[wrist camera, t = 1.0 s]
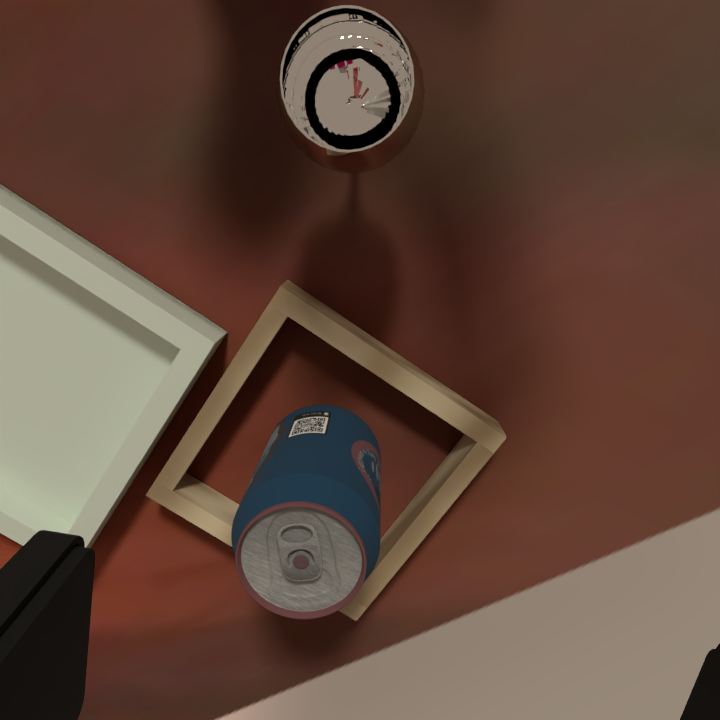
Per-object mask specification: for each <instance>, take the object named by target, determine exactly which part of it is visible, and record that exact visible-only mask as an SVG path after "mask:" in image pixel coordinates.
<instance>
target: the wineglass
mask: <svg viewBox="0 0 720 720" xmlns="http://www.w3.org/2000/svg"><path fill="white" fill-rule="evenodd" d="M424 92H425V90H424V82H423V74H422V70H421V67H420V63H419V60H418V57H417V55H416V53H415V51H414V49H413V47H412V45H411V43H410V42H409V40H408V39H407V37H406V36H405V35H404V34H403V33H402V32H401V31H400V30H399V29H398V27H397V26H396V25H395V24H394V23H392V22H391V21H390V20H388V19H387V18H386V17H384V16H383V15H381V14H379V13H377V12H375V11H372V10H370V9H367V8H364V7H360V6H353V5H341V6H335V7H331V8H328V9H325V10H322V11H320V12H318V13H316V14H315V15H313V16H311V17H310V18H309V19H308V20H306V21H305V22H304V23H303V24H302V25H301V26H300V27H299V28H298V29H297V31H296V32H295V33H294V34H293V36H292V37H291V39H290V41H289V42H288V44H287V45H286V48H285V50H284V52H283V56H282V59H281V63H280V66H279V70H278V77H277V99H278V105H279V111H280V115H281V118H282V120H283V123H284V125H285V128H286V130H287V132H288V134H289V136H290V137H291V139H292V140H293V142H294V143H295V144H296V146H297V147H298V148H299V149H300V150H301V151H302V152H303V153H304V154H305V155H306V156H307V157H308V158H309V159H311V160H312V161H314V162H315V163H317V164H318V165H320V166H322V167H324V168H327V169H329V170H332V171H336V172H340V173H350V174H354V173H364V172H368V171H372V170H375V169H377V168H380V167H382V166H384V165H385V164H387V163H389V162H390V161H392V160H393V159H394V158H395V157H397V156H398V155H399V154H400V153H401V152H402V151H403V150H404V148H405V147H406V146H407V145H408V144H409V142H410V141H411V139H412V137H413V135H414V134H415V132H416V130H417V127H418V125H419V122H420V119H421V116H422V111H423V105H424Z"/></svg>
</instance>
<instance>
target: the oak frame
mask: <svg viewBox="0 0 720 720" xmlns="http://www.w3.org/2000/svg"><path fill="white" fill-rule="evenodd" d="M288 317H290V318H291V319H293V320H294V321H296V322H297V323H299V324H300V325H302V326H303V327H305V328H306V329H308V330H309V331H311V332H312V333H314V334H315V335H317V336H318V337H320V338H321V339H323V340H324V341H326V342H327V343H329V344H330V345H332V346H333V347H335V348H336V349H338V350H339V351H341V352H342V353H344V354H345V355H347V356H348V357H350V358H351V359H353V360H354V361H356V362H357V363H359V364H360V365H362V366H363V367H365V368H366V369H368V370H369V371H371V372H372V373H374V374H375V375H377V376H378V377H380V378H381V379H383V380H384V381H386V382H387V383H389V384H390V385H392V386H393V387H395V388H396V389H398V390H399V391H401V392H402V393H404V394H406V395H407V396H409V397H410V398H412V399H413V400H415V401H416V402H418V403H419V404H421V405H422V406H424V407H425V408H427V409H428V410H430V411H431V412H433V413H434V414H436V415H437V416H439V417H440V418H442V419H443V420H445V421H446V422H448V423H449V424H451V425H452V426H454V427H455V428H457V429H458V430H460V431H461V432H463V433H464V435H463V436H462V438H461V439H460V440H459V441H458V443H457V444H456V445H455V446H454V448H453V449H452V450H451V451H450V453H449V454H448V455H447V456H446V458H445V459H444V460H443V462H442V463H441V464H440V465H439V467H438V468H437V469H436V470H435V472H434V473H433V474H432V475H431V477H430V478H429V479H428V480H427V482H426V483H425V484H424V485H423V487H422V488H421V489H420V490H419V492H418V493H417V494H416V496H415V497H414V498H413V499H412V501H411V502H410V503H409V504H408V506H407V507H406V508H405V509H404V511H403V512H402V513H401V514H400V516H399V517H398V518H397V519H396V521H395V522H394V523H393V524H392V526H391V527H390V528H389V529H388V531H387V532H386V533H385V535H384V536H383V537H382V538H381V540H380V551H379V556H378V560H377V562H376V565H375V567H374V569H373V571H372V572H371V574H370V576H369V577H368V578H367V579H366V581H365V582H364V583H363V584H362V586H361V588H360V590H359V592H358V593H357V594H356V596H355V597H354V598H353V599H352V600H351V601H350V602H349V603H348V604H347V605H346V606H344V607H343V608H342V609H340V610H338V611H340V612H342V613H343V614H345V615H347V616H348V617H350V618H352V619H353V620H355V621H357V620H358V619H359V617H360V616H361V615H362V614H363V613H364V611H365V610H366V609H367V608H368V606H369V605H370V604H371V603H372V602H373V600H374V599H375V598H376V597H377V595H378V594H379V593H380V592H381V591H382V589H383V588H384V587H385V586H386V584H387V583H388V582H389V581H390V580H391V578H392V577H393V576H394V575H395V573H396V572H397V571H398V570H399V569H400V567H401V566H402V565H403V564H404V562H405V561H406V560H407V559H408V558H409V556H410V555H411V554H412V553H413V551H414V550H415V549H416V548H417V547H418V545H419V544H420V543H421V542H422V540H423V539H424V538H425V537H426V536H427V534H428V533H429V532H430V531H431V529H432V528H433V527H434V526H435V525H436V523H437V522H438V521H439V520H440V519H441V517H442V516H443V515H444V514H445V512H446V511H447V510H448V509H449V508H450V506H451V505H452V504H453V503H454V501H455V500H456V499H457V498H458V497H459V495H460V494H461V493H462V492H463V490H464V489H465V488H466V487H467V486H468V484H469V483H470V482H471V481H472V479H473V478H474V477H475V476H476V475H477V473H478V472H479V471H480V470H481V468H482V467H483V466H484V465H485V464H486V462H487V461H488V460H489V459H490V457H491V456H492V455H493V454H494V453H495V451H496V450H497V449H498V448H499V446H500V445H501V444H502V443H503V442H504V440H505V439H506V438H507V437H506V435H505V433H504V431H503V429H502V427H501V426H500V424H499V422H498V421H497V420H495V419H494V418H492V417H491V416H489V415H488V414H486V413H485V412H484V411H482V410H481V409H479V408H478V407H476V406H475V405H473V404H472V403H470V402H469V401H467V400H466V399H464V398H463V397H461V396H460V395H458V394H457V393H455V392H454V391H452V390H451V389H449V388H448V387H446V386H445V385H443V384H442V383H440V382H439V381H437V380H436V379H435V378H433V377H432V376H430V375H429V374H427V373H426V372H424V371H423V370H421V369H420V368H418V367H417V366H415V365H414V364H412V363H411V362H409V361H408V360H406V359H405V358H403V357H402V356H400V355H399V354H397V353H396V352H394V351H393V350H391V349H390V348H388V347H387V346H386V345H384V344H383V343H381V342H380V341H378V340H377V339H375V338H374V337H372V336H371V335H369V334H368V333H366V332H365V331H363V330H362V329H360V328H359V327H357V326H356V325H354V324H353V323H351V322H350V321H348V320H347V319H345V318H344V317H342V316H341V315H339V314H338V313H336V312H335V311H334V310H332V309H331V308H329V307H328V306H326V305H325V304H323V303H322V302H320V301H319V300H317V299H316V298H314V297H313V296H311V295H310V294H308V293H307V292H305V291H304V290H302V289H301V288H299V287H298V286H296V285H295V284H293V283H292V282H290V281H289V280H287V281H286V282H284V283H283V284H282V285H281V286H280V288H279V289H278V291H277V292H276V294H275V295H274V297H273V298H272V300H271V301H270V303H269V305H268V306H267V308H266V309H265V311H264V312H263V314H262V315H261V317H260V319H259V320H258V322H257V323H256V325H255V326H254V328H253V329H252V331H251V333H250V334H249V336H248V337H247V339H246V340H245V342H244V343H243V345H242V346H241V348H240V350H239V351H238V353H237V354H236V356H235V357H234V359H233V360H232V362H231V364H230V365H229V367H228V368H227V370H226V371H225V373H224V374H223V376H222V378H221V379H220V381H219V382H218V384H217V385H216V387H215V388H214V390H213V391H212V393H211V395H210V396H209V398H208V399H207V401H206V402H205V404H204V405H203V407H202V409H201V410H200V412H199V413H198V415H197V416H196V418H195V419H194V421H193V423H192V424H191V426H190V427H189V429H188V430H187V432H186V433H185V435H184V436H183V438H182V440H181V441H180V443H179V444H178V446H177V447H176V449H175V450H174V452H173V454H172V455H171V457H170V458H169V460H168V461H167V463H166V464H165V466H164V468H163V469H162V471H161V472H160V474H159V475H158V477H157V478H156V480H155V481H154V483H153V485H152V486H151V488H150V489H149V491H148V492H147V494H146V496H147V497H149V498H151V499H153V500H154V501H156V502H158V503H159V504H161V505H163V506H164V507H166V508H168V509H169V510H171V511H173V512H174V513H176V514H178V515H179V516H181V517H183V518H184V519H186V520H188V521H189V522H191V523H193V524H194V525H196V526H198V527H199V528H201V529H203V530H204V531H206V532H208V533H209V534H211V535H213V536H214V537H216V538H218V539H219V540H221V541H223V542H224V543H226V544H228V545H230V546H231V547H232V541H231V531H232V524H233V520H234V517H235V514H236V512H237V509H238V507H239V504H237V503H235V502H234V501H232V500H230V499H229V498H227V497H226V496H224V495H222V494H221V493H219V492H217V491H216V490H214V489H212V488H211V487H209V486H207V485H206V484H204V483H203V482H201V481H199V480H198V479H196V478H194V477H193V476H191V475H189V474H188V473H186V471H187V470H188V468H189V467H190V465H191V464H192V462H193V461H194V459H195V457H196V456H197V454H198V453H199V451H200V450H201V448H202V447H203V445H204V444H205V442H206V441H207V439H208V438H209V436H210V435H211V433H212V432H213V430H214V429H215V427H216V426H217V424H218V423H219V421H220V420H221V418H222V416H223V415H224V413H225V412H226V410H227V409H228V407H229V406H230V404H231V403H232V401H233V400H234V398H235V397H236V395H237V394H238V392H239V391H240V389H241V388H242V386H243V385H244V383H245V382H246V380H247V379H248V377H249V375H250V374H251V372H252V371H253V369H254V368H255V366H256V365H257V363H258V362H259V360H260V359H261V357H262V356H263V354H264V353H265V351H266V350H267V348H268V347H269V345H270V344H271V342H272V341H273V339H274V337H275V336H276V334H277V333H278V331H279V330H280V328H281V327H282V325H283V324H284V322H285V321H286V319H287V318H288Z"/></svg>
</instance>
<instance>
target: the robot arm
mask: <svg viewBox="0 0 720 720" xmlns="http://www.w3.org/2000/svg"><path fill="white" fill-rule="evenodd" d="M94 564H95V552H94V550H93V549H92V548H86V547H85V543H84V539H83V537H81V536H78V535H72V534H66V533H59V532H53V531H47V530H41V531H38V532H37V533H36V534H34V535H33V537H32V538H31V539H30V540H29V541H28V542H27V543H26V544H25V545H24V546H23V547H22V548H21V549H20V550H19V551H18V552H17V553H16V554H15V555H14V556H13V557H12V558H11V559H10V560H9V561H8V562H7V563H6V564H5V565H4V566H3V567H2V568H1V569H0V720H77V719H78V717H79V714H80V711H81V708H82V704H83V700H84V693H85V680H86V667H87V654H88V641H89V629H90V616H91V603H92V590H93V577H94ZM680 720H720V644H719V645H718V647H717V648H716V649H712V650H711V651H709V653H708V654H707V656H706V658H705V661H704V663H703V666H702V668H701V671H700V673H699V675H698V677H697V680H696V683H695V685H694V687H693V689H692V692H691V694H690V697H689V699H688V701H687V704H686V707H685V709H684V711H683V714H682V716H681V718H680Z"/></svg>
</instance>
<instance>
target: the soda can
mask: <svg viewBox="0 0 720 720" xmlns="http://www.w3.org/2000/svg"><path fill="white" fill-rule="evenodd" d="M231 541H232V548H233V552H234V555H235V565H236V570H237V574H238V577H239V579H240V582H241V584H242V586H243V587H244V589H245V590H246V592H247V593H248V594H249V595H250V596H251V598H252V599H253V600H254V601H256V602H257V603H258V604H259V605H261V606H262V607H264V608H265V609H267V610H269V611H271V612H273V613H275V614H278V615H280V616H284V617H288V618H293V619H315V618H320V617H324V616H327V615H330V614H332V613H334V612H336V611H338V610H340V609H342V608H343V607H344V606H346V605H347V604H348V603H349V602H350V601H351V600H352V599H353V598H354V597H355V596H356V594H357V593H358V592H359V590H360V588H361V586H362V584H363V583H364V582H365V581H366V579H367V578H368V577H369V576H370V574H371V572H372V571H373V569H374V567H375V565H376V562H377V560H378V556H379V551H380V450H379V445H378V442H377V440H376V438H375V436H374V434H373V432H372V431H371V429H370V428H369V426H368V425H367V424H366V423H365V422H364V421H363V420H362V419H361V418H359V417H358V416H357V415H355V414H353V413H352V412H350V411H348V410H346V409H343V408H340V407H336V406H332V405H312V406H307V407H304V408H301V409H298V410H296V411H294V412H293V413H291V414H289V415H288V416H287V417H285V418H284V419H283V420H282V421H281V422H280V423H279V424H278V425H277V427H276V428H275V429H274V431H273V433H272V435H271V437H270V439H269V441H268V443H267V446H266V448H265V450H264V452H263V454H262V457H261V459H260V461H259V463H258V465H257V468H256V470H255V472H254V474H253V476H252V479H251V481H250V483H249V485H248V487H247V490H246V492H245V494H244V496H243V498H242V501H241V503H240V505H239V507H238V509H237V512H236V514H235V517H234V520H233V524H232V531H231Z"/></svg>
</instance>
